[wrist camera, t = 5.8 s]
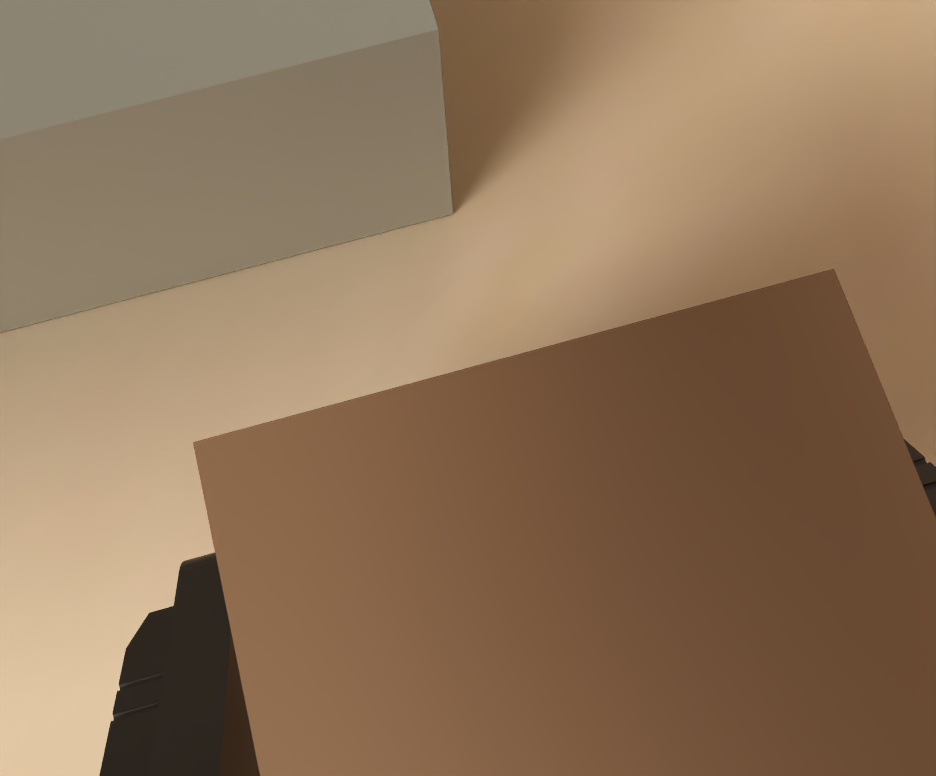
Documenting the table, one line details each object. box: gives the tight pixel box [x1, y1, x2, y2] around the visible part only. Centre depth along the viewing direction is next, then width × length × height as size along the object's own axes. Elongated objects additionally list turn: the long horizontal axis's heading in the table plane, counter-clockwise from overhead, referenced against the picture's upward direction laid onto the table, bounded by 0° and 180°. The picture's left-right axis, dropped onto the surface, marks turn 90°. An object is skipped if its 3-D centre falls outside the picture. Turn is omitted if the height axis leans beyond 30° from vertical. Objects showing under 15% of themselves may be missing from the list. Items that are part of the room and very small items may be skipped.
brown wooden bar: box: [193, 269, 936, 776], centre depth 11 cm, size 4×4×12 cm
